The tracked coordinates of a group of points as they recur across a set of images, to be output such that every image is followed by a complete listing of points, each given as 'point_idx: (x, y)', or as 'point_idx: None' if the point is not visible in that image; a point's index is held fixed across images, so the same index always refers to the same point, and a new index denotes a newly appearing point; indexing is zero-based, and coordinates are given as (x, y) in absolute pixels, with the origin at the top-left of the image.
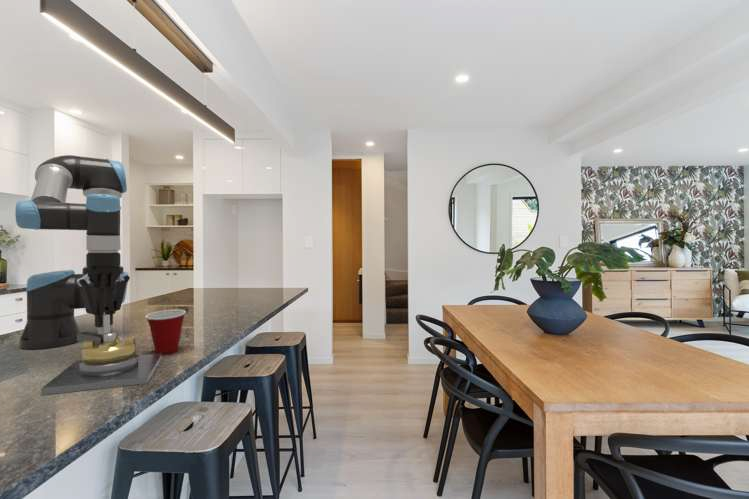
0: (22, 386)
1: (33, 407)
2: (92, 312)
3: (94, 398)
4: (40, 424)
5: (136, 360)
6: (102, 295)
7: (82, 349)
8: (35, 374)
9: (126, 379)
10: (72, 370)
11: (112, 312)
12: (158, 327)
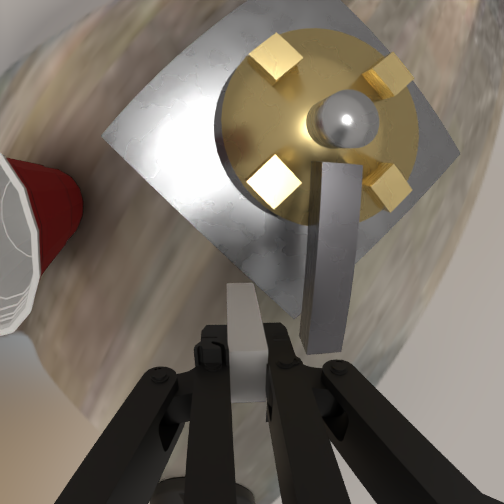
0: (430, 258)
1: (477, 102)
2: (349, 367)
3: (411, 21)
4: (487, 29)
5: None
6: (306, 471)
7: (410, 172)
8: (369, 328)
9: (341, 1)
10: (362, 226)
11: (219, 346)
12: (37, 192)
